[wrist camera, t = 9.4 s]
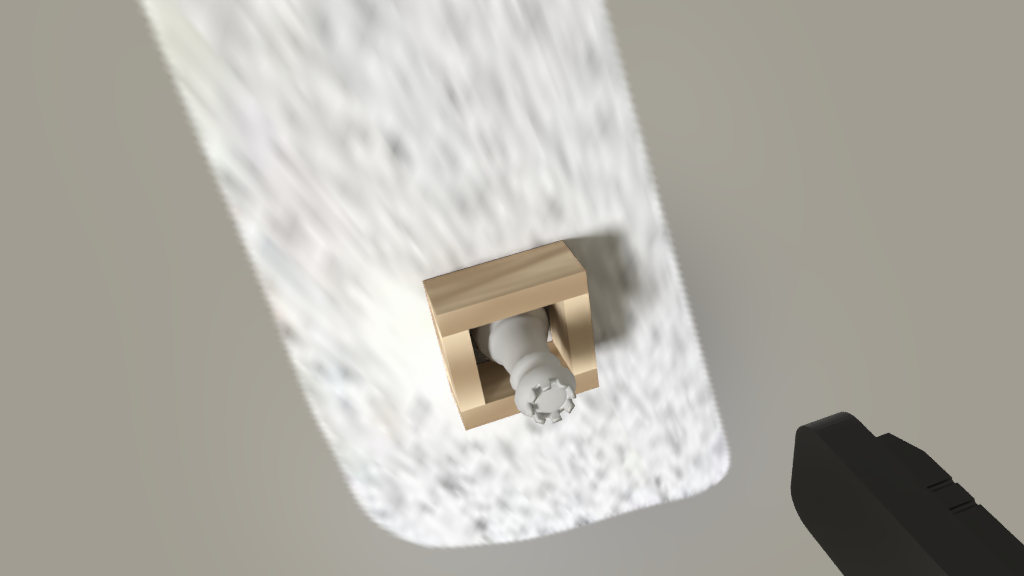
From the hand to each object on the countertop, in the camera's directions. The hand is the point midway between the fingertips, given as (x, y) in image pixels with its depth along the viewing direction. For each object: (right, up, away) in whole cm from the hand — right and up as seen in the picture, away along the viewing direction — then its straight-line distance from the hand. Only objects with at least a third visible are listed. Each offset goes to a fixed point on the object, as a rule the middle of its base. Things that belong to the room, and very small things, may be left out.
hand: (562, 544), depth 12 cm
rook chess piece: (-1, +2, +32) cm, 32 cm away
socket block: (-1, +2, +32) cm, 32 cm away
